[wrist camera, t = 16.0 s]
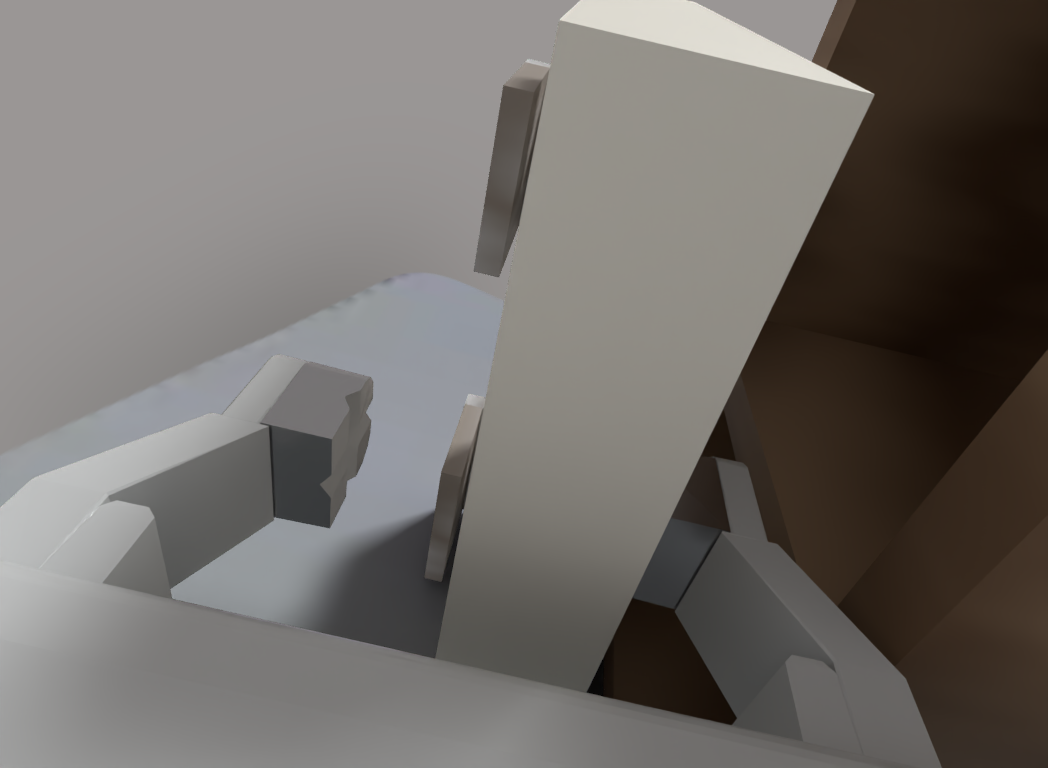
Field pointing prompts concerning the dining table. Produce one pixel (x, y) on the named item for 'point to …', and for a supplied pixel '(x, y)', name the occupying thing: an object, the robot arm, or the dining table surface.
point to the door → (629, 313)
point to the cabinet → (883, 379)
